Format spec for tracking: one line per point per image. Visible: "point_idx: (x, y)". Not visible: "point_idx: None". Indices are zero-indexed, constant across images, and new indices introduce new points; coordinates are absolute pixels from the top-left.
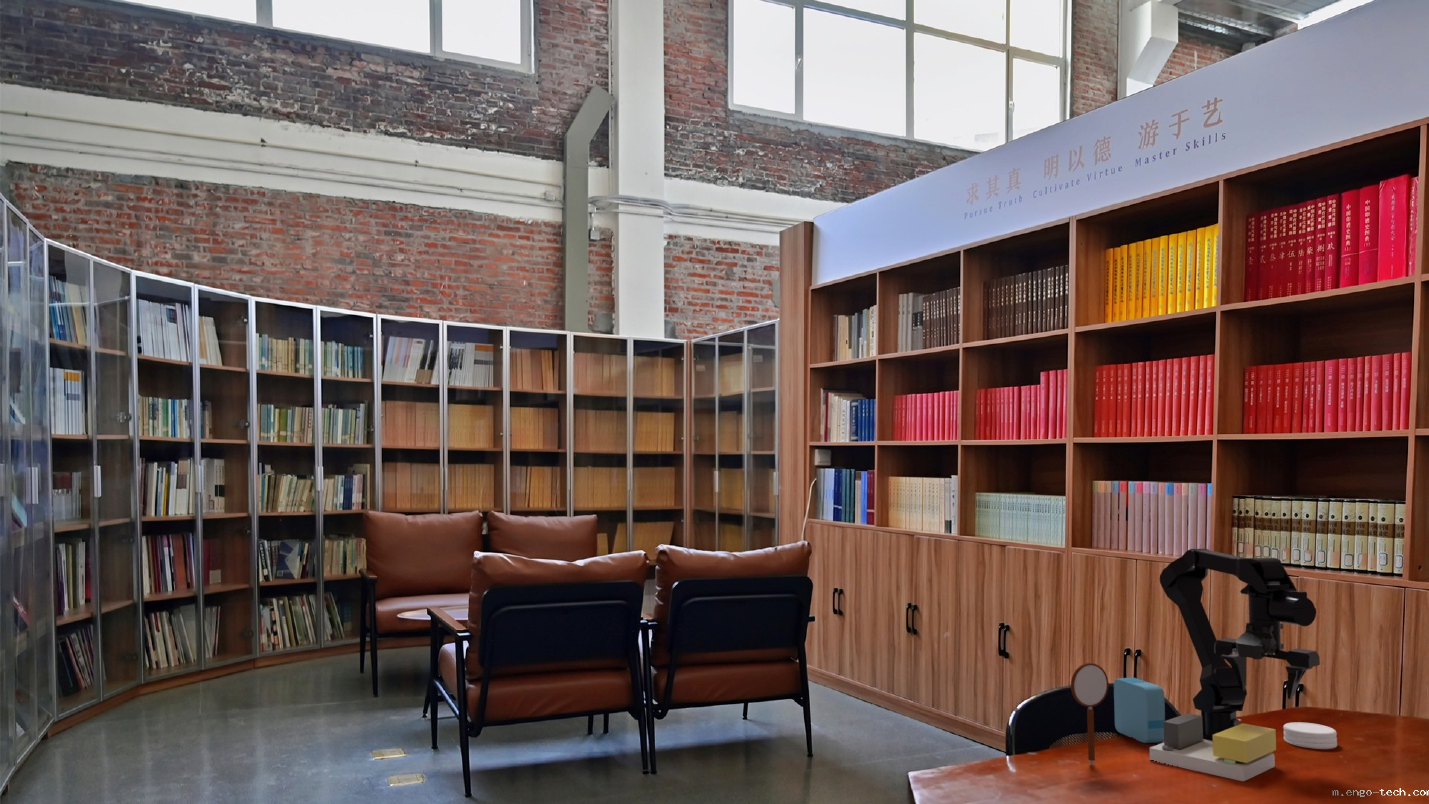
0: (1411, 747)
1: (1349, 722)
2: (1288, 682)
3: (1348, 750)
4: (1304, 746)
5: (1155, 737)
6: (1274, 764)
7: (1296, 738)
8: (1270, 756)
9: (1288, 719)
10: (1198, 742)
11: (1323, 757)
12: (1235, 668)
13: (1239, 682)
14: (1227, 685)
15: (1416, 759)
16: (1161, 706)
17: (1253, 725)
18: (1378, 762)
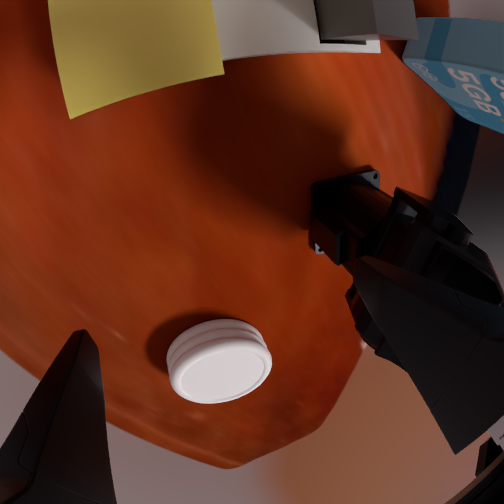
0: (135, 431)
1: (257, 436)
2: (43, 418)
3: (147, 371)
4: (197, 325)
5: None
6: None
7: (217, 331)
8: None
9: (313, 396)
10: (318, 7)
11: (118, 298)
12: (483, 314)
13: (400, 271)
14: (427, 274)
15: None
16: (476, 55)
17: (169, 82)
18: None
